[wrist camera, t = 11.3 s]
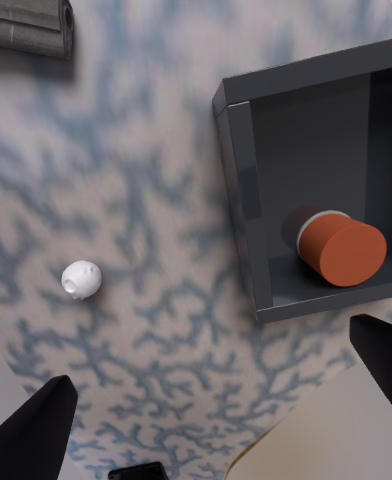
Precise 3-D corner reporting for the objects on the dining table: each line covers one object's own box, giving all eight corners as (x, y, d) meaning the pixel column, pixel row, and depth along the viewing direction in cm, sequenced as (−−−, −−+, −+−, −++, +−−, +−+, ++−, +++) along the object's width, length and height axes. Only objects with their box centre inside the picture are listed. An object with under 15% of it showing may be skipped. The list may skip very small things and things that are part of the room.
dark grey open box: (397, 258, 20) (453, 285, 16) (243, 290, 21) (258, 325, 16) (417, 51, 15) (507, 11, 11) (212, 99, 15) (222, 77, 11)
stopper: (354, 260, 19) (384, 279, 16) (300, 272, 19) (320, 292, 16) (355, 207, 17) (389, 217, 14) (296, 220, 17) (318, 233, 14)
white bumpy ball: (101, 290, 20) (88, 311, 17) (66, 278, 19) (47, 298, 17) (111, 260, 19) (99, 277, 16) (75, 247, 18) (56, 263, 16)
